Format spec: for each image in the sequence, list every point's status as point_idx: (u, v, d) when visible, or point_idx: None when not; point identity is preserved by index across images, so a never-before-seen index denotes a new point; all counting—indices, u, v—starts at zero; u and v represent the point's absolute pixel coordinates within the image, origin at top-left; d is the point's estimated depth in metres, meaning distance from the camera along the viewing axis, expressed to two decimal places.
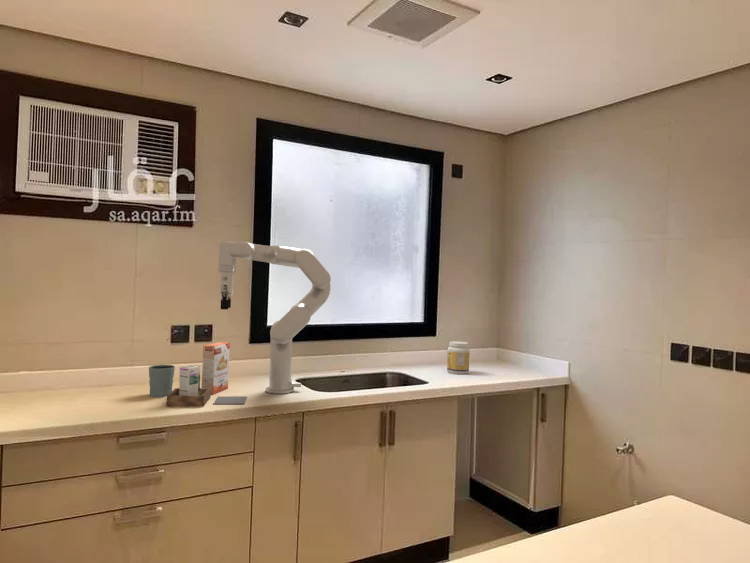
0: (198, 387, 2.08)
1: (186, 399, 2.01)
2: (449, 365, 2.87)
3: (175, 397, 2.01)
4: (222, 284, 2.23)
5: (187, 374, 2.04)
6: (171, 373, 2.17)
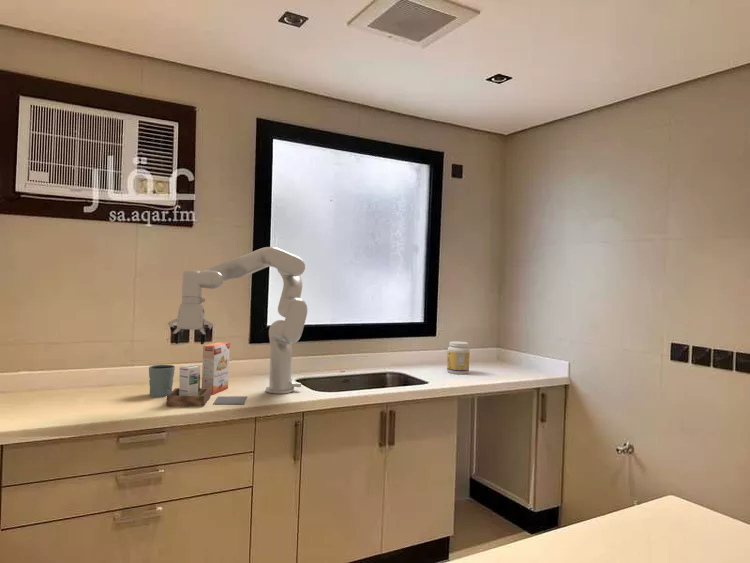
0: (198, 387, 2.08)
1: (186, 399, 2.01)
2: (449, 365, 2.87)
3: (175, 397, 2.01)
4: (203, 317, 2.07)
5: (187, 374, 2.04)
6: (171, 373, 2.17)
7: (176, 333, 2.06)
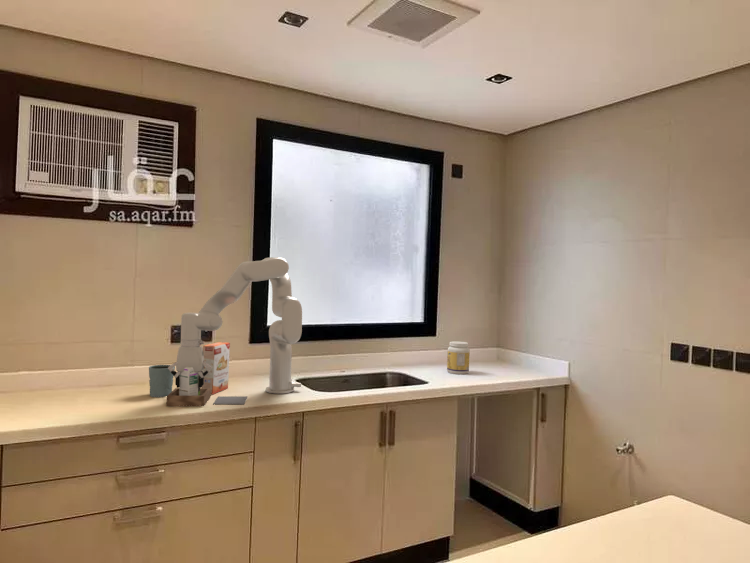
0: (198, 387, 2.08)
1: (186, 399, 2.01)
2: (449, 365, 2.87)
3: (175, 397, 2.01)
4: (202, 360, 2.07)
5: (187, 374, 2.04)
6: (171, 373, 2.17)
7: (177, 377, 2.07)
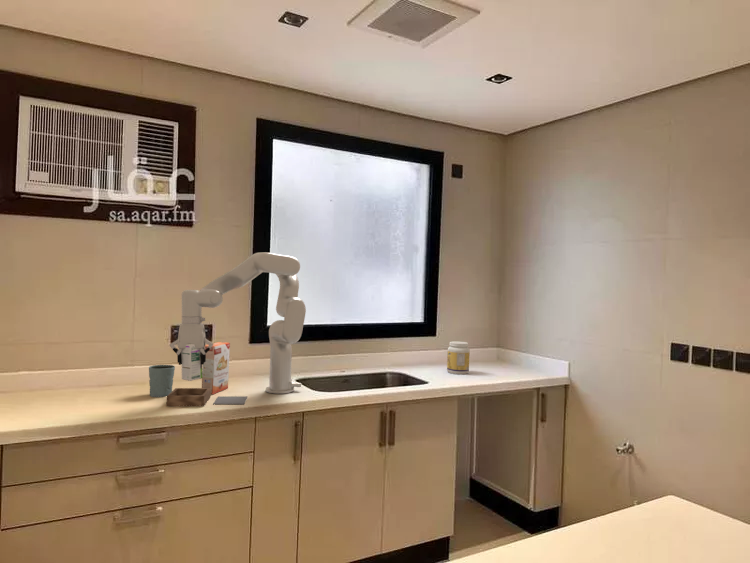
0: (200, 364, 2.08)
1: (186, 399, 2.01)
2: (449, 365, 2.87)
3: (175, 397, 2.01)
4: (203, 337, 2.07)
5: (189, 351, 2.05)
6: (171, 373, 2.17)
7: (179, 354, 2.07)
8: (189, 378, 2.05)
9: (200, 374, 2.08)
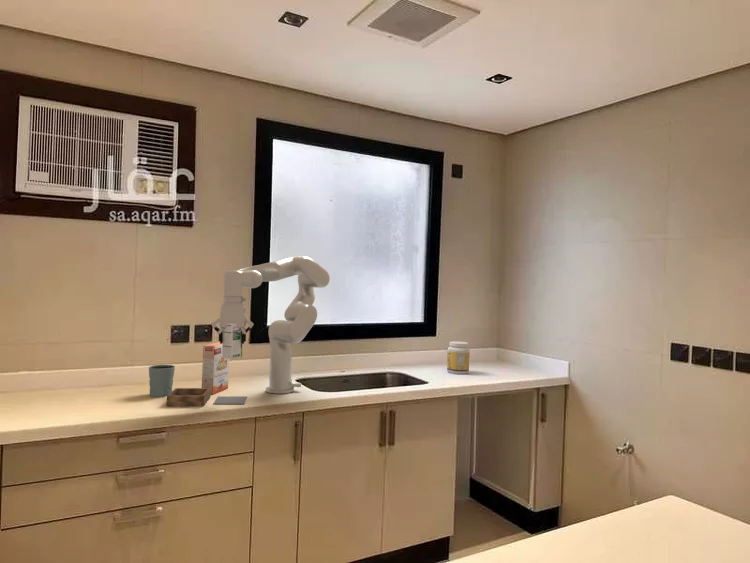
0: (241, 343, 2.12)
1: (186, 399, 2.01)
2: (449, 365, 2.87)
3: (175, 397, 2.01)
4: (244, 316, 2.11)
5: (231, 330, 2.08)
6: (171, 373, 2.17)
7: (220, 333, 2.10)
8: (230, 356, 2.08)
9: (240, 353, 2.12)
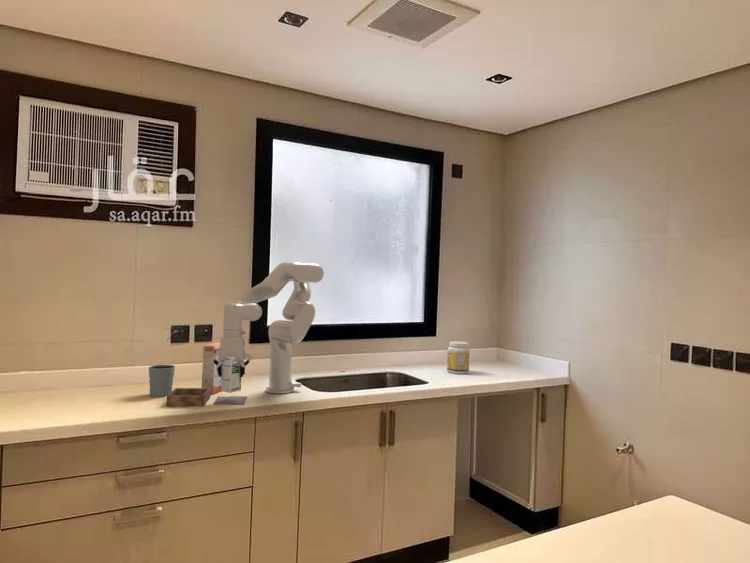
0: (239, 376, 2.12)
1: (186, 399, 2.01)
2: (449, 365, 2.87)
3: (175, 397, 2.01)
4: (243, 349, 2.11)
5: (230, 363, 2.08)
6: (171, 373, 2.17)
7: None
8: (228, 390, 2.08)
9: (239, 386, 2.12)
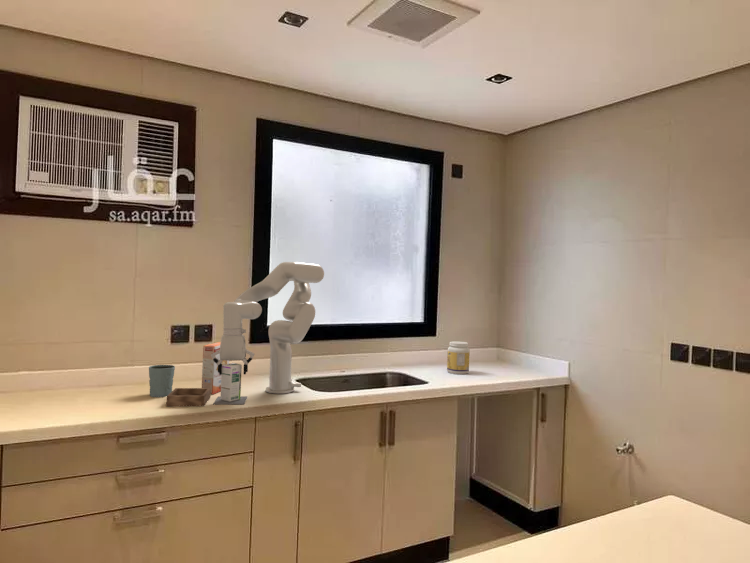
0: (239, 385, 2.12)
1: (186, 399, 2.01)
2: (449, 365, 2.87)
3: (175, 397, 2.01)
4: (244, 348, 2.11)
5: (230, 372, 2.08)
6: (171, 373, 2.17)
7: None
8: (228, 398, 2.09)
9: (238, 395, 2.12)
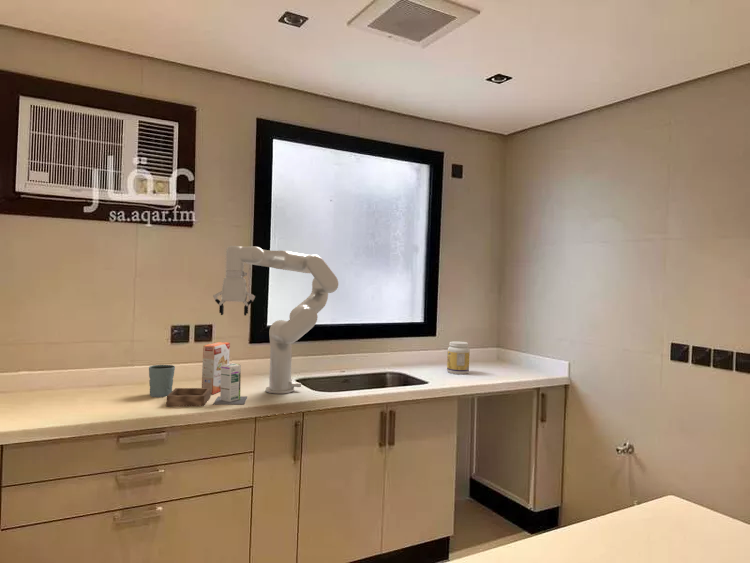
0: (239, 385, 2.12)
1: (186, 399, 2.01)
2: (449, 365, 2.87)
3: (175, 397, 2.01)
4: (245, 290, 2.20)
5: (229, 372, 2.08)
6: (171, 373, 2.17)
7: (221, 305, 2.20)
8: (228, 399, 2.08)
9: (238, 395, 2.12)
